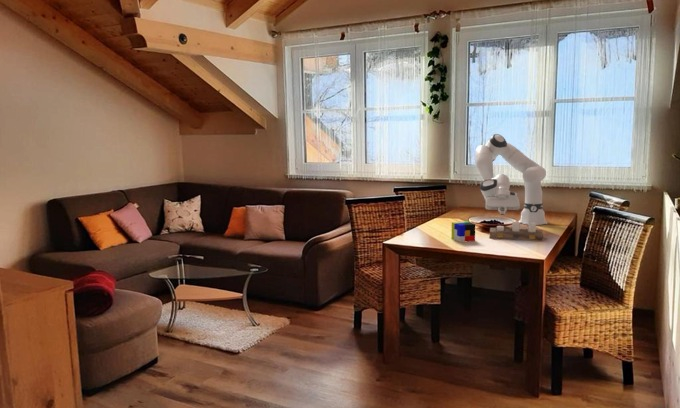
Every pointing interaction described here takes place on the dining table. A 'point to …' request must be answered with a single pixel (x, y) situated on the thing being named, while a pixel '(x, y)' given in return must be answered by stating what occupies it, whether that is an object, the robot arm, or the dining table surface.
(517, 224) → the plunger middle
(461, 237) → the puzzle toy
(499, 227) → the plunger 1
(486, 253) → the dining table surface
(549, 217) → the dining table surface
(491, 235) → the console
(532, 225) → the plunger
